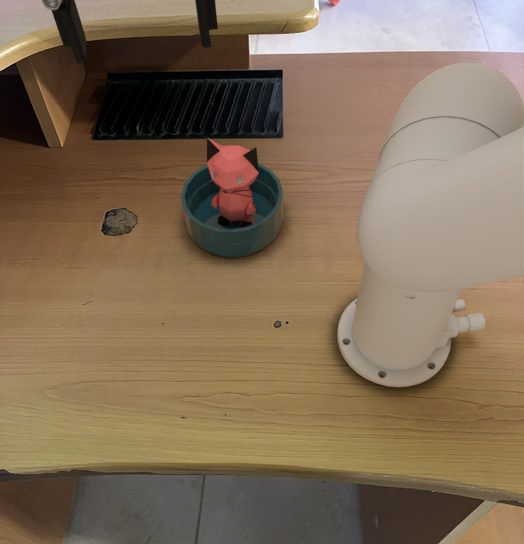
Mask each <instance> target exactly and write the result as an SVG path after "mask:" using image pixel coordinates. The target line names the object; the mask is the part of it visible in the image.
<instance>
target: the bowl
mask: <svg viewBox="0 0 524 544" xmlns="http://www.w3.org/2000/svg"><path fill="white" fill-rule="evenodd" d="M258 169H259V174H258V175H257V177H256V179H255V181H254V182H253V183H252V184H250V185H249V188H250V189H252V190H251V192H252V196H255V197H252V200H253V204H254V205H255V208H256V211H255V214H254V215H252V216H253V218H254V222H255V224H252V225H250V226H247V227H242V228H240V226H239V224H240V221H233V222H232V223H231V224H230V225H226V226H221V225H219V224H218V217H219V216H220V208H219V204H218V206H217V208H214V207H213V206H212V200H213V199H214V196H216V195H219V192H220V189H221V188H220V187H219V186H218V185H216V184H215V183H214V181H213V180H212V178H211V174H210V171H209V168H208V165H207V164H205V165H203V166H201V167H200V168H198V169H197V170H195V171H194V172H193V173H191V174H190V175H189V177H188V179H187V180H186V181H185V182H184V184H183V186H182V190H181V194H180V200H181V207H182V212H183V217H184V222H185V226H186V231H187V233H188V235H189V237H190V238H191V240H192V241H193V242H194V243H195V244H196V245H197V246H198V247H200V248H201V249H203V250H204V251H206V252H208V253H210V254H212V255H215V256H220V257H226V258H239V257H246V256H249V255H252V254H255V253H257V252H259V251H261V250H263V249H265V248H266V247H267V246H268V245H270V244H271V243H272V242H273V241H274V240H275V239H276V237H277V235H278V234H279V232H280V231H281V229H282V225H283V220H284V190H283V186H282V183H281V180H280V179H279V178H278V176H277V175H276V174H275V172H273V170H271V169H270V168H268V166H267V167H266V166H265V165H263V164H262V163H259V162H258ZM203 179H204V180H205V181H207V182H209V183H210V184H212V185H214V186H216V187H218V188H216V187H214V186H212V185H210V184H209V183H207V182H205V181H204V180H203ZM202 185H203V186H202ZM204 186H205V187H208V188H205V187H204ZM209 188H213V189H217V190H213V189H209ZM254 188H255V189H254Z"/></svg>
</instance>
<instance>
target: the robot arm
mask: <svg viewBox="0 0 524 544" xmlns="http://www.w3.org/2000/svg"><path fill="white" fill-rule="evenodd" d="M41 2H42V4H43V6H44V7H45V8H46V9H47V10H49V11H51V13H52V17H53V20H54V22H55V25H56V28H57V31H58V34H59V38H60V40H61V43H62V45H63V47H64V48H67V47H71V50H72V54H73V56H74V59H75V62H76V64H80V63H85V61H87V36H86V33H85V30H84V27H83V23H82V20H81V17H80V14H79V11H78V6H77V4H76V1H75V0H41ZM194 2H195V9H196V18H197V26H198V33H199V38H200V45H201V47H204V49H208V48H212V42H211V34H210V33H211V32H210V31H213V30H214V31H215V30H218V29H219V26H218V25H219V24H218V17H217V4H216V0H194ZM361 202H362V203H361V205H360V209H359V212H358V216H357V223H356V240H357V247H358V251H359V253H360V256H361V258H362V260H363V261H364V262H363V266H362V267H363V269H362V274H361V278H360V284H359V289H358V293H357V297H356V298H355V299H354V300H352V301H351V302H350V303H349V304H348V305H347V306H346V307H345V309H344V311H342V314H341V316H340V318H339V321H338V326H337V333H336V335H337V336H336V337H337V339H336V340H337V344H338V349H339V351H340V353H341V356H342V358H343V359H344V361H345V362H346V363H347V365H348V366H349V367H350V368H351V369H352V370H353V371H354V372H355V373H356V374H358V375H359V376H361V377H362V378H364V379H365V380H368V381H370V382H372V383H375V384H378V385H381V386H385V387H389V388H390V387H391V388H392V387H393V388H406V387H412V386H415V385H419V384H420V385H421V384H422V383H424V382H426V381H428V380H430V379H431V378H433V377H434V376H435V375H436V374H438V372H440V370H441V369H442V368H443V366H444V364H445V363H446V361H447V359H448V357H449V354H450V351H451V344H452V338H456V337H457V336H458V335H459V334H460V333H469V332H470V333H471V332H475V331H482V330H485V328H486V324H487V322H486V318H485V315H484V314H483V312H475V313H468V314H464V315H461V316H455V315H454V314H452V313H459V312H464V311H465V310H466V307H467V305H466V300H465V299H464V298H459V297H460V295H461V293H462V291H463V290H466V289H471V288H477V287H480V286H486V285H490V284H495V283H499V282H504V281H508V280H509V281H510V280H512V279H517V278H522V277H524V101H523V99H522V97H521V95H520V92H519V90H518V89H517V87H516V86H515V84H514V83H513V82H512V81H511V80H510V78H508V77H507V75H505V74H504V73H503V72H502V71H500V70H498V69H497V68H495V67H492V66H490V65H487V64H484V63H479V62H471V61H467V62H456V63H451V64H448V65H446V66H443V67H440V68H438V69H436V70H434V71H433V72H431V73H429V74H428V75H426V76H425V77H424V78H422V79H421V80H420V81H419V82H418V83H417V84H416V85H415V86H414V87H413V88H412V89H411V90H410V91H409V92H408V94H407V95H406V97H405V98H404V100H403V101H402V103H401V104H400V106H399V108H398V110H397V112H396V113H395V116H394V118H393V121H392V123H391V125H390V128H389V130H388V133H387V135H386V138H385V140H384V143H383V145H382V147H381V150H380V153H379V157H378V159H377V163H376V166H375V168H374V171H373V173H372V176H371V179H370V181H369V183H368V185H367V188H366V191H365V194H364V196H363V199H362V201H361Z"/></svg>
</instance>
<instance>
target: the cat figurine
mask: <svg viewBox="0 0 524 544" xmlns="http://www.w3.org/2000/svg"><path fill="white" fill-rule="evenodd" d="M258 160H259V158H258V149H257V146H256V147H254V148H252V149H248V148H245V147H244V146H241V145H239V144H233V145H221V144H220V143H217V142H215V141H214V140H212V139H211V138H209V137H206V165H208V168H209V171H210V174H211V178H212V180H213V181H214V183H215V184H216V185H218V186H219V187H220V188H221V189H220V192H219V195H216V196H214V199H213V200H212V206H213V207H214V208H217V206H218V204H219V208H220V216H219V217H218V224H219V225H221V226H226V225H230V224H231V223H232V222H233V221H240V224H239V226H240V228H242V227H247V226H250V225H252V224H255V222H254V218H253V216H252V215H254V214H255V211H256V208H255V205H254V204H253V200H252V197H255V196H252V192H251V190H252V189H250V188H249V185H250V184H252V183H253V182H254V181H255V179H256V177H257V175H258V174H259V169H258V163H259V161H258ZM203 180H204V179H203ZM204 181H205V180H204ZM205 182H207V181H205ZM207 183H209V182H207ZM209 184H210V183H209ZM210 185H212V184H210ZM202 186H203V185H202ZM212 186H214V185H212ZM204 187H205V186H204ZM214 187H216V186H214ZM205 188H208V187H205ZM216 188H218V187H216ZM209 189H213V188H209ZM254 189H255V188H254ZM213 190H217V189H213Z"/></svg>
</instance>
